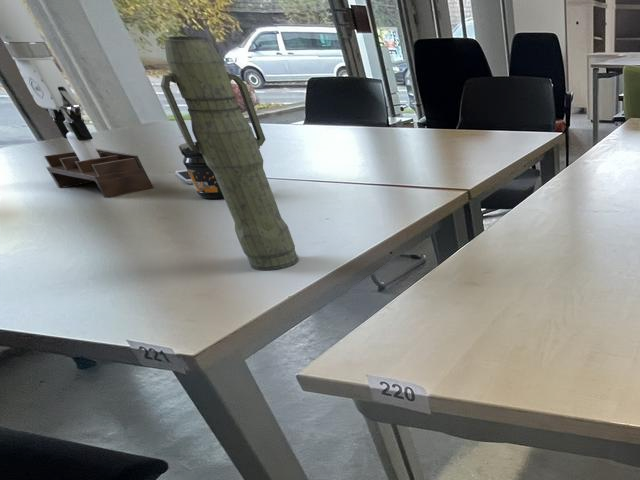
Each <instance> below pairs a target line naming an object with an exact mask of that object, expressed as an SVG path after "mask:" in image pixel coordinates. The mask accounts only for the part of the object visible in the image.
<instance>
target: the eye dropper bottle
mask: <svg viewBox="0 0 640 480" xmlns="http://www.w3.org/2000/svg"><path fill="white" fill-rule="evenodd" d="M64 117H65V121H64V124H65V126H66V128H67V130H68V131H69V132H68V133H67V134H66V136H67V138H66V139H67V140H68V142H69V144H70V146H71V148H72V150H73V152H74V151H75V153H76V155H77V157H78V158H79V160H80V161H83V160H89V159H96V158H100V156H99V154H98V152H97V150H96V149H97V148H96V147H95V145H94V143H93V141H92V139H91V140H84V141H79V140H78V139H77V137H76V136H75V134H74V132H73V130H72V128H71V127H70V125H69V123H71V122H70V121H69V120H68V119H67V117H66V116H65V115H64Z"/></svg>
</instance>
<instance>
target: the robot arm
mask: <svg viewBox="0 0 640 480" xmlns="http://www.w3.org/2000/svg"><path fill="white" fill-rule="evenodd" d="M0 39H1V41H2V42H3V44H4V46H5V48H6V50H7V51H8V53H9V54H10V56H11V58H12V60H13V61H14V62H15V64H16V67H17V69H18V71H19V73H20V76H21V77H22V80H23V82H24V83H25V85H26V87H27V89H28V91H29V93H30V94H31V96H32V98H33V101H34V102H35V103H36V105H37V106H39V107H40V108H43V109H45V111H46V112H47V113H48V114H49V116H50V118H51V120H53V122H54V124H55V125H56V127H57V129H58V130H59V132H60V134H61V136H62V137H63V138H64V139H67V136H66V134H67V133H68V132H69V131H68V130H67V128H66V126H65V124H64V121H65V117H64V115H65V116H66V117H67V119H68V120H69V121H70V122H71V123H69V125H70V127H71V128H72V130H73V132H74V134H75V136H76V137H77V139H78V140H79V141H84V140H91V141H92V140H93V136H92V134H91V132H90V130H89V128H88V127H87V124H86V122H85V120H84V118H83V116H82V112H81V106H80V105H79V103H78V101H77V99H76V96H75V95H74V93H73V91H72V89H71V87H70V86H69V84H68V82H67V81H66V79H65V77H64V75H63V74H62V72H61V70H60V69H59V68H58V65H56V63H55V61H54V60H55V58H54V56H53V54H52V52H51V50H50V49H49V47H48V45H47V43H46V41H45V39H44V37H43V35H42V33H41V32H40V30H39V28H38V26H37V24H36V23H35V21H34V19H33V17H32V15H31V13H30V11H29V9H28V8H27V6H26V4H25V2H24V0H0Z"/></svg>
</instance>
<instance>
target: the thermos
mask: <svg viewBox="0 0 640 480" xmlns="http://www.w3.org/2000/svg"><path fill="white" fill-rule="evenodd" d="M167 37H168V39H164V49H165V57H166V63H167V65H168V67H169V70H170V72H169V73H167V74H163V75H162V79H161V83H160V87H161V90H162V92H163V95H164V97H165V100H166V102H167V104H168V105H169V108H170V110H171V113H172V115H173V117H174V120H175V122H176V123H177V127H178V128H179V130H180V133H181V135H182V137H183V139H184V141H185V143H187V145H188V147H189V148H190V150H191V151H199V153H201V154H202V155H203V157H204V160H205V162H206V164H207V166H208V167H209V168H210V169H211V170H212V171H213V173H214V175H215V178H216V180H217V182H218V185H219V187H220V189H221V192H222V194H223V196H224V198H223V200H224V201H225V204H226V205H227V209H228V211H229V213H230V215H231V217H232V219H233V222H234V232H235V235H236V237H237V239H238V242H239V244H240V247H241V250H242V252H243V253H244V255H245V256H246V257H247V259H248V262H249V265H250V267H251V268H252V269H253V270H258V271H276V270H282V269H286V268H289V267H291V266H294V265H296V264H297V263H298V262H299V261H298V260H300V259H299V256H298V254H297V251H296V245H295V243H294V239H293V237H292V234H291V232H290V229H289V226H288V224H287V223H286V221H284V219H283V218H282V216H281V213H280V210H279V208H278V204H277V202H276V199H275V197H274V194H273V191H272V189H271V185H270V183H269V180H268V177H267V175H266V172H265V170H264V158H263V156H262V153H261V150H260V149H261V147H262V146H263V145H264V143H265V142H266V137H265V134H264V132H263V128H262V125H261V122H260V121H259V117H258V115H257V111H256V109H255V105H254V103H253V99H252V97H251V95H250V91H249V89H248V86H247V84H246V83H245V82H244V81H243V80H242V79H241V78H240V77H239V76H238V75H237V74H234V73H229V72H228V71H227V69H226V67H225V64H224V61H223V59H222V58H221V56H220V54H219V53H218V51H217V50H216V48H215V47H214V45H213V44H212V42H211V41H210V40H207V39H205V37H204V36H188V35H187V36H185V35H184V36H182V35H180V36H176V35H175V36H174V35H173V36H167ZM232 81H234V82H235V84H236V85H237V87H238V90H239V92H240V96H241V98H242V101H243V103H244V106H245V109H246V112H247V114H248V118H249V121H250V123H251V124H250V123H249V122H248V120H247V118H245V116H244V114H243V112H242V109H241V106H239V105H238V102H237V100H236V97H237V96H236V93H235V91H234V88H233V84H232V83H231V82H232ZM171 83H174V84H176V86H177V88H178V90H179V94H180V95H181V97H182V99H184V102H185V104H186V106H187V112H188V115H189V116H190V123H191V131H192V134H193V136H194V139H195V141H194V140H193V138H192V135H191V133H190V130H189V129H188V126H187V124H186V121H185V119H184V116H183V114H182V113H181V110H180V108H179V105H178V103H177V101H176V98H175V96H174V94H173V92H172V90H171V85H170V84H171ZM193 142H195V144H196V145H194V143H193Z"/></svg>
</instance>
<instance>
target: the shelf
mask: <svg viewBox="0 0 640 480" xmlns="http://www.w3.org/2000/svg"><path fill="white" fill-rule="evenodd" d="M95 149H96V150H97V152H98V154H99V156H100V158H96V159H89V160H83V161H80V160H79V158H78V157H77V155H76V153H75V151H74V150H73V151H69V152H62V153H55V154H48V155H44V159H45V160H46V162H47V164H48V166H46V167H45V168H46V170H47V171H48V173H49V174H50V176H51V178H52V180H53V181H54V183H55V185H56V186H57V188H60V187H62V188H66V187H65V186H67V187H71V185H72V186H77V185H76V184H78V185H81V184H80V183H83V184H86V183H85V182H88V183H91V182H90V181H94V182H95V184H96V185H97V187H98V189H99V190H100V191H99V192H101V194H102V196H103V197H104V198H106V197H108V198H111V197H110V196H112V197H118V196H121V194H122V195H126V193H127V194H131V193H135V192H136V193H137V192H140V191H145V190H149V189H153V188H154V186H153V184H152V182H151V179H150V177H149V175H148V174H147V172H146V170H145V168H144V166H143V164H142V162H141V160H140V158H139V156H138V155H136V154H130V153H124V152H118V151H113V150H106V149H101V148H95Z"/></svg>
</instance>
